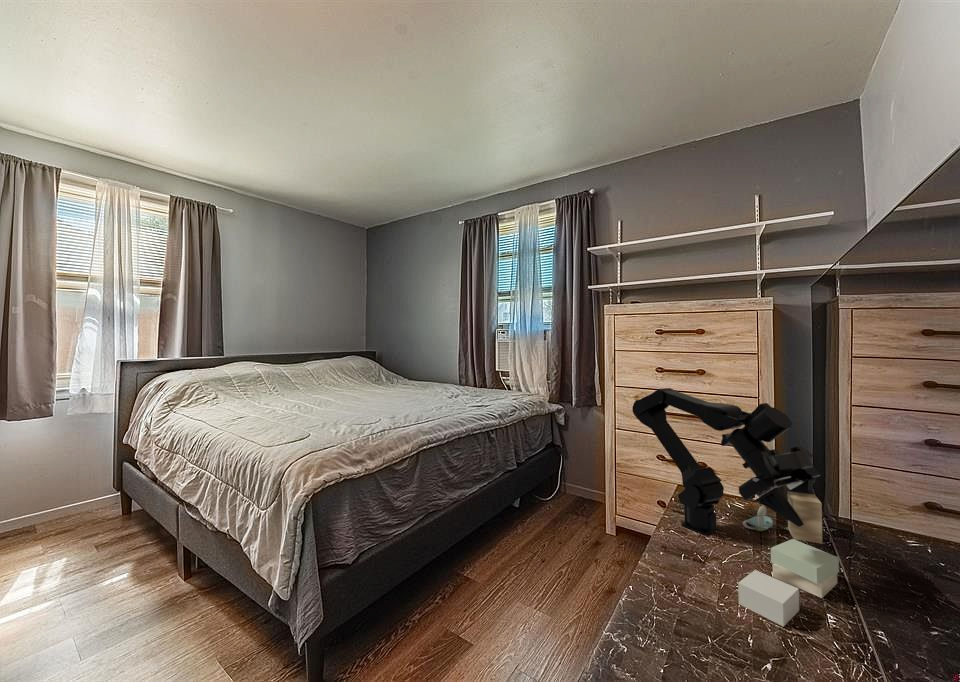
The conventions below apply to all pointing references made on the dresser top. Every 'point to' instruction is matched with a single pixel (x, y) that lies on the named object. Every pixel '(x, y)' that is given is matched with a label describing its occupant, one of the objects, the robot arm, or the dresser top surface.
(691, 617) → the dresser top surface
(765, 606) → the grey stand
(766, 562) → the dresser top surface
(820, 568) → the sage slab upper
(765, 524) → the pacifier
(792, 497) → the maple block
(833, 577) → the birch slab lower
